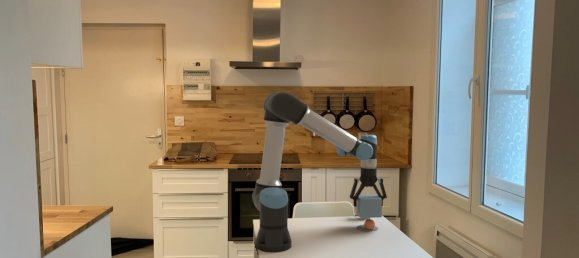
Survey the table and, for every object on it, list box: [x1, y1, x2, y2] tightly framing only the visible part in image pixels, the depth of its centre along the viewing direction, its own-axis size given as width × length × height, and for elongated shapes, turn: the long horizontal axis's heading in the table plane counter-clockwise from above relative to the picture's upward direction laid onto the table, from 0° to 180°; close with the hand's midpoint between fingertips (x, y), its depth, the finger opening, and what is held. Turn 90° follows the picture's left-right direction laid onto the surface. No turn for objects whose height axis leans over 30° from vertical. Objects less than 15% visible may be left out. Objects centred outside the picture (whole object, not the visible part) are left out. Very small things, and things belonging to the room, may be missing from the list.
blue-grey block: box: [356, 193, 383, 219], centre depth 197 cm, size 10×10×9 cm
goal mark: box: [356, 224, 379, 232], centre depth 197 cm, size 10×10×1 cm
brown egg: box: [363, 218, 376, 230], centre depth 195 cm, size 5×5×5 cm
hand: (368, 213), depth 197 cm, fingers closed on blue-grey block, 10 cm apart
